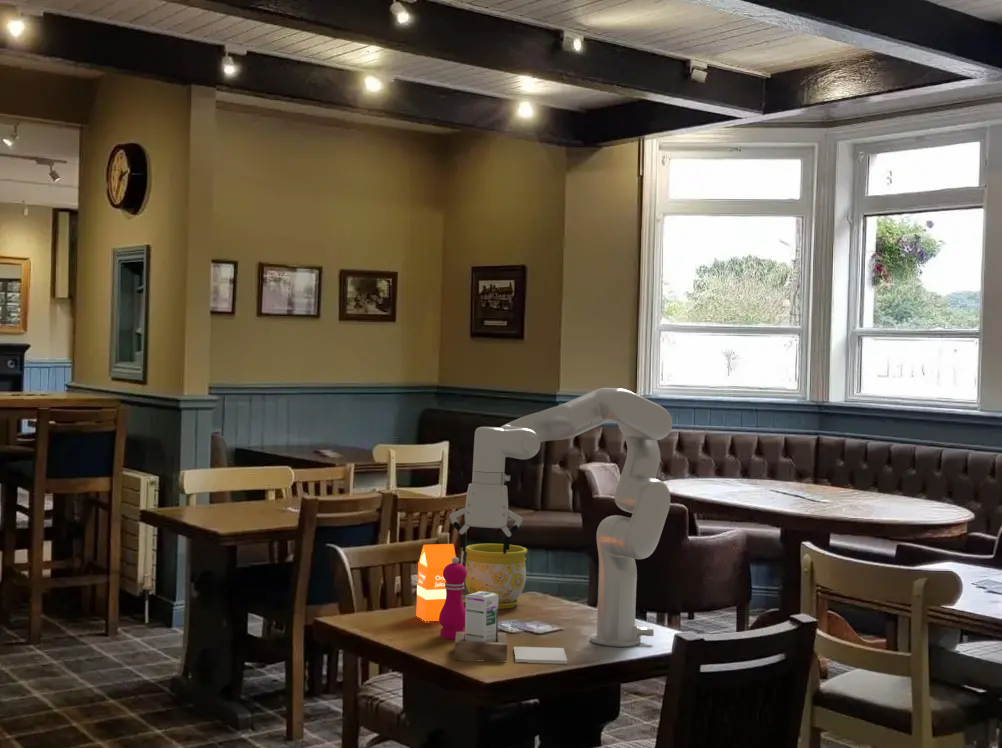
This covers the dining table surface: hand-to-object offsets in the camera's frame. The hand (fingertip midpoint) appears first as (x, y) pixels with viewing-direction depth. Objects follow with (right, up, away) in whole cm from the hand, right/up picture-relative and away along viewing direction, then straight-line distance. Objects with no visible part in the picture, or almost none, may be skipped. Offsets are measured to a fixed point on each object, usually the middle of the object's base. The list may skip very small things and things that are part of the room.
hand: (484, 551), depth 265 cm
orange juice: (-14, -24, +38) cm, 47 cm away
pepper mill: (-8, -24, +17) cm, 31 cm away
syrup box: (-1, -24, -1) cm, 24 cm away
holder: (-1, -24, -1) cm, 24 cm away
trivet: (+13, -25, 0) cm, 28 cm away
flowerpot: (+2, -25, +59) cm, 64 cm away
